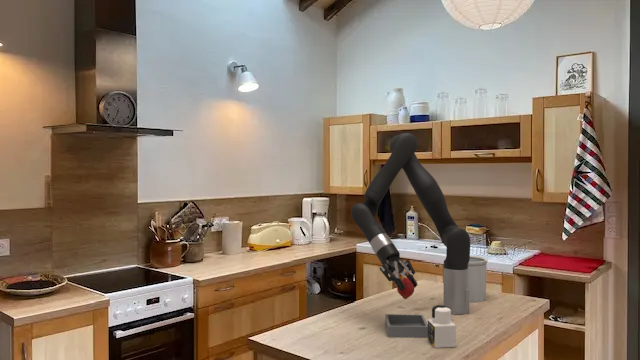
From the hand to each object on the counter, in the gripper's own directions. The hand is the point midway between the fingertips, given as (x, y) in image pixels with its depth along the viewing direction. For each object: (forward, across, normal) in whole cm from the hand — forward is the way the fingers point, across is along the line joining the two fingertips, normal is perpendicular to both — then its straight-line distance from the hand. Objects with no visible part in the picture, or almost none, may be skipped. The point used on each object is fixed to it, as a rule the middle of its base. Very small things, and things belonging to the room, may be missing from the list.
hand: (409, 287), depth 170 cm
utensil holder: (+3, +54, +19) cm, 57 cm away
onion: (+2, 0, +4) cm, 5 cm away
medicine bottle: (+21, -1, +1) cm, 21 cm away
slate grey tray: (+10, 0, +12) cm, 15 cm away
